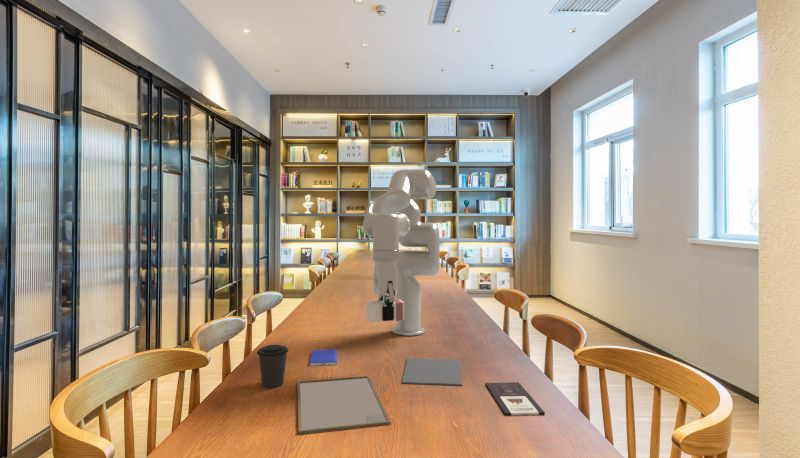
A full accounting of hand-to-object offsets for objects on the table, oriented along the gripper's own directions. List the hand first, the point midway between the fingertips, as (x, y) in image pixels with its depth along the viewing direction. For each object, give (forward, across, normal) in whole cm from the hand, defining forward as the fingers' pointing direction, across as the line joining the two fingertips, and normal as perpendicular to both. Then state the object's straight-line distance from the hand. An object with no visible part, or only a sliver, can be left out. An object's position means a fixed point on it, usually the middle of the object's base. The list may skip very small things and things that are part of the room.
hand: (385, 317), depth 126 cm
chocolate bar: (+16, +28, +25) cm, 41 cm away
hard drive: (+16, -15, -16) cm, 27 cm away
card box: (+1, 0, 0) cm, 1 cm away
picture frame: (+16, +19, -16) cm, 29 cm away
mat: (+15, +5, +13) cm, 21 cm away
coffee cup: (+15, +3, -32) cm, 35 cm away
